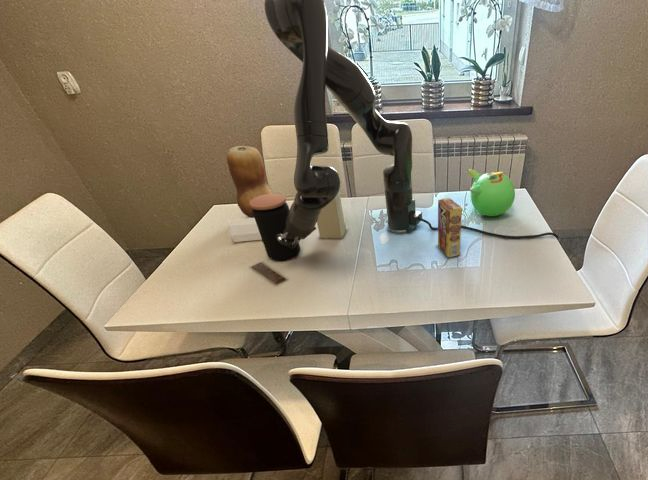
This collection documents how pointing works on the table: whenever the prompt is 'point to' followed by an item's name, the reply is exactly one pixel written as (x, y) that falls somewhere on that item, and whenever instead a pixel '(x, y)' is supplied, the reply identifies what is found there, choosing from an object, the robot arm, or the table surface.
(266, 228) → the coffee jar
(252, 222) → the crystal
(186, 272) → the table surface
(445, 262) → the table surface
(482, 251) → the table surface
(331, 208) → the beige tall block
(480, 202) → the toy bird
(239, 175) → the butternut squash
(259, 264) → the walnut ruler
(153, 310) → the table surface
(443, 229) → the candy box
